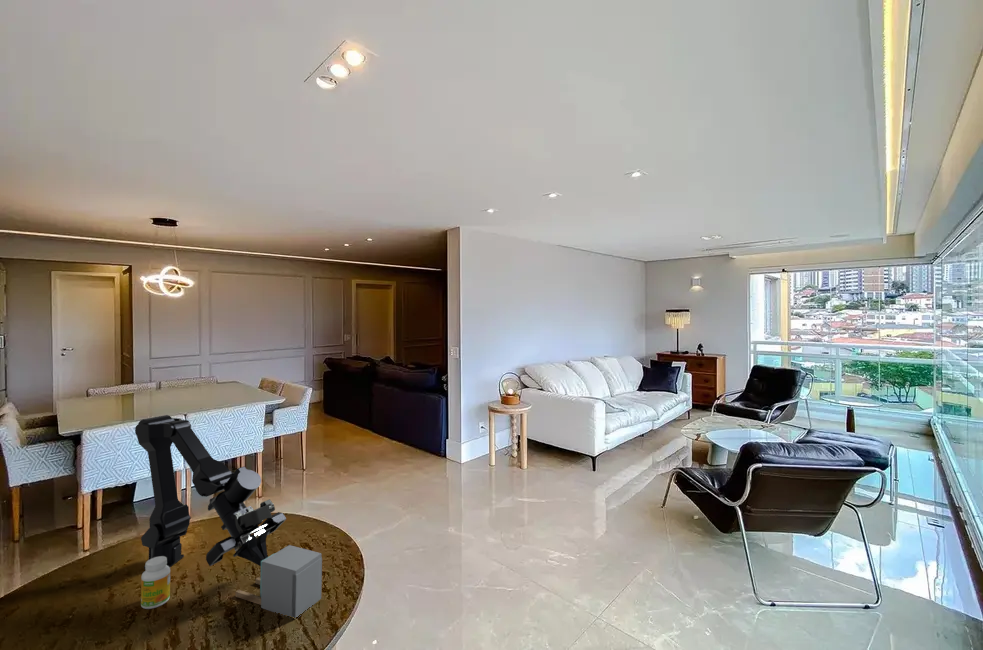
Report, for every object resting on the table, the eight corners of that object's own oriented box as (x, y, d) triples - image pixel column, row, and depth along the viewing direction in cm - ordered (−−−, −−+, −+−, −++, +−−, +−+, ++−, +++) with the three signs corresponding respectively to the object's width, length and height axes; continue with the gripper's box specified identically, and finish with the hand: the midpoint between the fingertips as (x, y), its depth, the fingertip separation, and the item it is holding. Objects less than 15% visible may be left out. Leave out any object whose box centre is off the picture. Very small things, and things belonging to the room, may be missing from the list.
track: (235, 596, 105) (235, 591, 105) (258, 581, 111) (258, 577, 111) (263, 605, 102) (264, 600, 102) (285, 590, 108) (285, 585, 108)
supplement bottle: (138, 612, 99) (138, 569, 99) (143, 598, 103) (144, 557, 103) (167, 605, 101) (168, 563, 101) (171, 592, 106) (172, 552, 106)
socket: (261, 607, 101) (261, 561, 101) (288, 588, 109) (289, 544, 109) (295, 619, 98) (296, 571, 98) (321, 598, 105) (322, 553, 105)
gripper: (215, 508, 99) (251, 567, 95) (281, 481, 116) (314, 530, 113) (190, 536, 102) (224, 595, 98) (258, 505, 119) (289, 554, 115)
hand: (266, 566), depth 106 cm, fingers closed, pressing on slider
